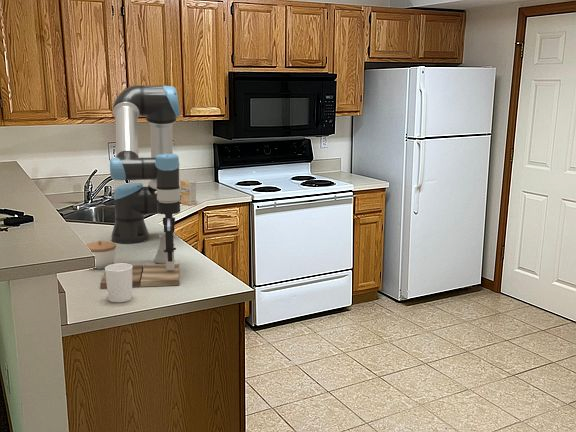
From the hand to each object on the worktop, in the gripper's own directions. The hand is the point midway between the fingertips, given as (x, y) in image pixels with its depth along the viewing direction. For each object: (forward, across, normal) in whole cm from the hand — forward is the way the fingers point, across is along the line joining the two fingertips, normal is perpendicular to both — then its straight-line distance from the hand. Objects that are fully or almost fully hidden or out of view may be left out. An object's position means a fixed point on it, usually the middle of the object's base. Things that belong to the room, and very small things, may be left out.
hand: (170, 269), depth 197 cm
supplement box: (+1, -128, +7) cm, 128 cm away
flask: (+2, -18, -2) cm, 18 cm away
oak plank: (+2, +1, -3) cm, 4 cm away
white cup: (+3, +20, -14) cm, 25 cm away
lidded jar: (+2, -15, -24) cm, 29 cm away
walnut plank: (+2, +1, -16) cm, 16 cm away
